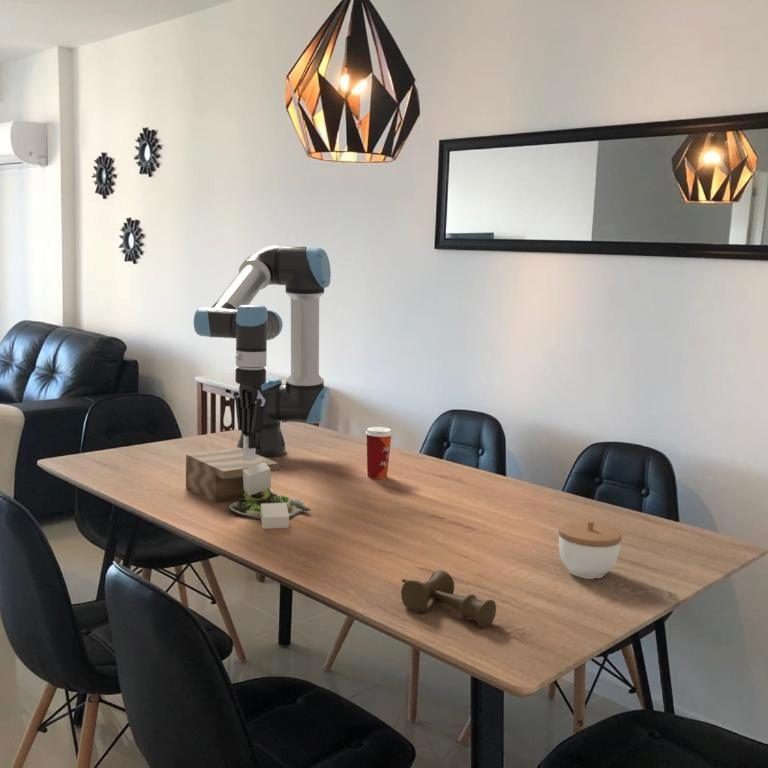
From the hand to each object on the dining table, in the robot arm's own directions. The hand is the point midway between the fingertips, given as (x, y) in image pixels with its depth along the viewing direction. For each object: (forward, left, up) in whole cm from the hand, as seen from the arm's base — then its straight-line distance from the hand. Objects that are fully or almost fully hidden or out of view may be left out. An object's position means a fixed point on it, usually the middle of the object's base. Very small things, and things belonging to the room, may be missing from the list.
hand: (249, 460), depth 213 cm
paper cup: (-1, +43, -11) cm, 45 cm away
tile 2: (+19, -4, -10) cm, 22 cm away
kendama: (+77, -5, -11) cm, 78 cm away
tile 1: (+4, -1, -3) cm, 5 cm away
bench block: (-9, 0, -11) cm, 14 cm away
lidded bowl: (+80, +33, -11) cm, 87 cm away
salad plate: (+8, 0, -12) cm, 14 cm away
